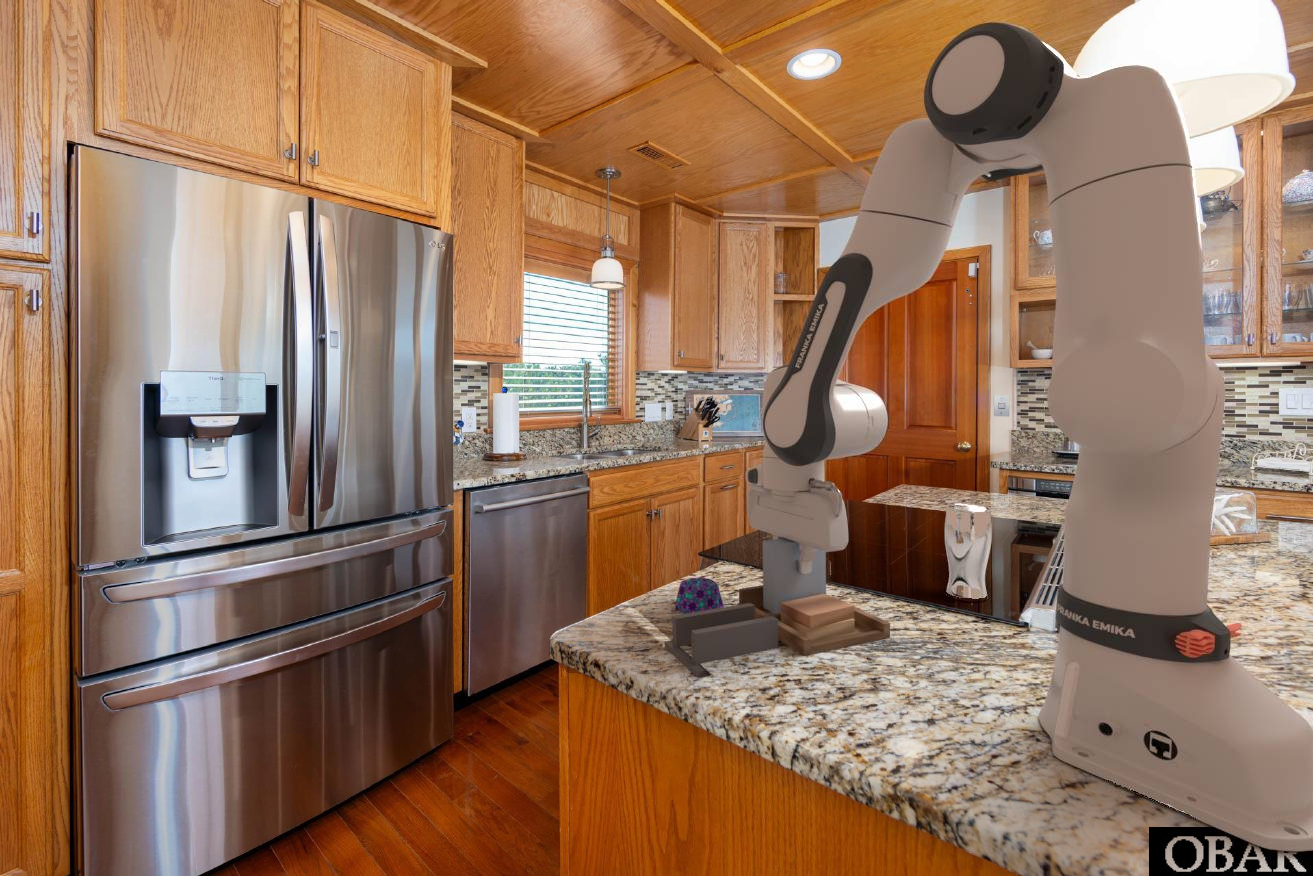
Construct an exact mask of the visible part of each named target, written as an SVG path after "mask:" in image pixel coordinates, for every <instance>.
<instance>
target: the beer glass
mask: <svg viewBox="0 0 1313 876" xmlns="http://www.w3.org/2000/svg"><path fill="white" fill-rule="evenodd" d="M991 510H992V508H991V507H990V506H989V507H988V506H986V505H980V504H974V503H973V504H972V503H951V504H948V505H947V504H946V510H945V520H944V521H945V522H944V545H945V550H946V557H947V562H948V572H949V575H948V576H949V577H948V583H947V586H946V591H945V592H947V593H948V594H950V595H952V596H956V597H959V598H972V599H979V598H985V597H986V596H987V597H988V593H987V589H986V570H987V565H988V562H989V561H988V560H989V556H990V553H991V545H992V538H993V535H992V534H993V525H992V522H993V521H992V511H991Z"/></svg>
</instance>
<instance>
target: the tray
mask: <svg viewBox="0 0 1313 876" xmlns="http://www.w3.org/2000/svg"><path fill="white" fill-rule="evenodd" d="M826 595H828V594H827V593H826ZM828 596H830V595H828ZM747 603H751V604H753V605H755V619H759V618H765V617H771V616H774V617H776V618H777V619H778V642H779V641H780V643H782V644H784V645H785V646H788V647H789V648H791V649H792V650H794V651H796V652H797V653H799V654H800V655H802V656H803V657H807V656H811V655H816V654H817V655H818V654H821V653H826V652H830V651H835V650H840V649H845V648H849V647H854V646H857V645H864V644H867V643H871V642H872V643H873V642H878V641H882V640H886V639H890V638H891V622H890V621H886V620H884V619H882V618H880V617H878V616H875V615H873V614H871V613H868V612H866V611H864V610H862V609H860V608H858V607H856V606H854V619H855V632H853V633H848V634H843V635H838V636H833V637H828V638H823V639H818V640H813V641H811V639H810V638H808V637H806V636H805V635H803V634H801V633H800V632H798V631H796V630H794V629H793V628H791V627H789V626H787V625H786V624H784V623H782V622H781V613H778V614H774V613H772V612H770V611H768V610H767V609H765V608H763V584H762V585H756V586H750V587H743V588H739V589H738V605H741V604H747Z"/></svg>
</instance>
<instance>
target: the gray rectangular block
mask: <svg viewBox="0 0 1313 876" xmlns="http://www.w3.org/2000/svg"><path fill="white" fill-rule="evenodd" d="M801 552H802V551H801V550H799V543H798V542H795V541H792V540H789V539H786V538H781V539H774V540H773V539H767V540H762V585H763V608H765V609H767V610H768V611H770V612H772V613H774V614H778V613H781V603H783V602H787V601H792V600H797V599H801V598H806V597H811V596H815V595H820V594H827V569H826V567H827V566H826V565H827V562H826V561H827V557H826V555H827V552H825V551H822V550H819V549H817V552H816V554H815V556H814V558H813V560H812V571H811V572H810V573H807V574H802V573H800V572H797V571H796V560H799V558H800V555H801Z"/></svg>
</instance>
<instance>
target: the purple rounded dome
mask: <svg viewBox="0 0 1313 876" xmlns="http://www.w3.org/2000/svg"><path fill="white" fill-rule="evenodd" d="M674 604H675V605H674V610H675V611H677V612H681V613H682V614H687V613H693V612H699V611H705V610H711V609H717V608H723V607H725V606H724V602H723V599H722V594H721V591H720V586H719V585H718V583H717V582H716V581H715V580H713V579H711V578H705V577H695V578H694V577H690V578H687V579H684V580H682V581H681V582H680V584H679V587H678V592H677V596H676V599H675V603H674Z"/></svg>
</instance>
